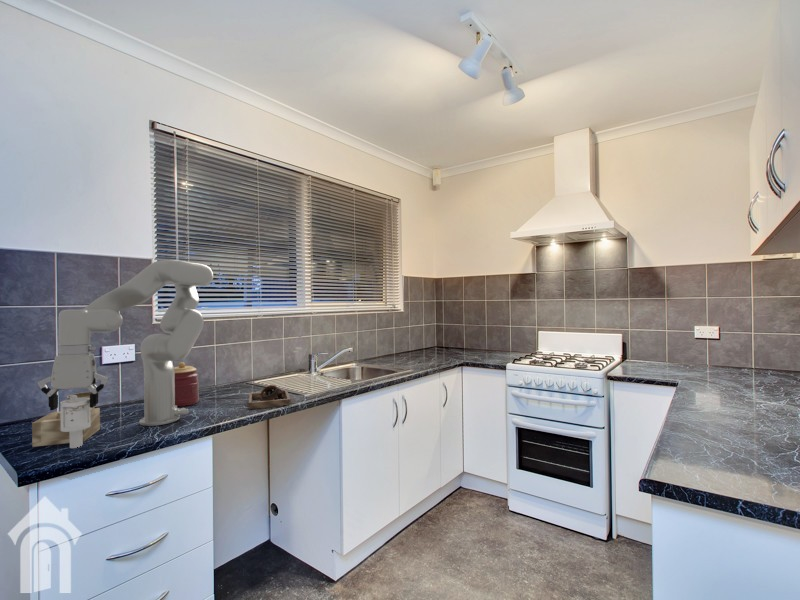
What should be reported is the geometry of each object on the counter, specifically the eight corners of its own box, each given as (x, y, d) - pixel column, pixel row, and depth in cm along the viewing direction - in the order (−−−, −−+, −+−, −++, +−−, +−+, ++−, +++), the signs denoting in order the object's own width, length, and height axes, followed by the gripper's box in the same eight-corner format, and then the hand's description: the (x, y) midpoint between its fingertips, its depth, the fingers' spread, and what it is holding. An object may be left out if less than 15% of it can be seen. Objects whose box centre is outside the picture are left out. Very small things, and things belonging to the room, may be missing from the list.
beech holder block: (99, 428, 137) (99, 407, 137) (84, 441, 125) (84, 418, 125) (53, 433, 133) (53, 411, 133) (32, 446, 121) (32, 422, 121)
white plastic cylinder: (87, 440, 125) (86, 392, 125) (93, 445, 121) (93, 395, 121) (58, 447, 120) (57, 397, 120) (64, 452, 116) (63, 400, 116)
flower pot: (69, 422, 145) (69, 398, 145) (64, 417, 151) (64, 394, 152) (101, 416, 152) (100, 394, 152) (95, 412, 158) (95, 390, 158)
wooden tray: (287, 395, 182) (287, 390, 182) (290, 405, 165) (290, 399, 165) (249, 398, 177) (249, 393, 177) (248, 409, 160) (248, 402, 160)
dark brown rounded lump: (289, 402, 172) (283, 388, 168) (269, 416, 167) (262, 401, 163) (277, 391, 180) (271, 377, 176) (258, 403, 175) (251, 389, 171)
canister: (176, 408, 162) (175, 365, 162) (158, 405, 168) (157, 363, 168) (205, 401, 173) (205, 360, 173) (187, 398, 180) (187, 359, 180)
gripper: (112, 348, 127) (112, 402, 126) (45, 350, 121) (44, 407, 121) (104, 350, 120) (103, 408, 119) (31, 353, 114) (31, 413, 114)
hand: (73, 407), depth 120 cm, fingers open, 9 cm apart
